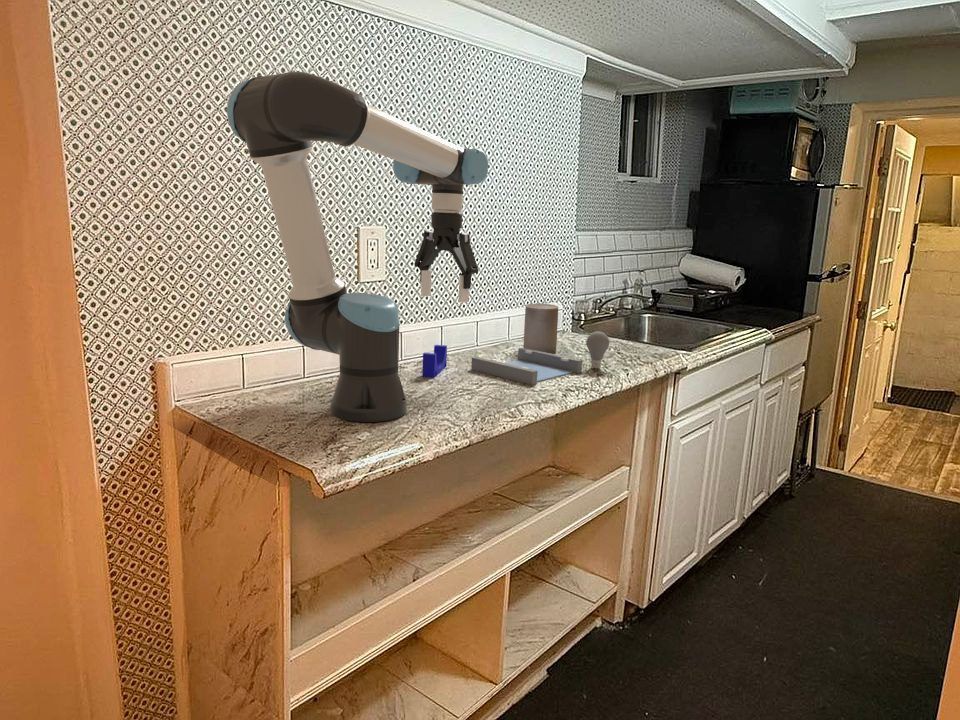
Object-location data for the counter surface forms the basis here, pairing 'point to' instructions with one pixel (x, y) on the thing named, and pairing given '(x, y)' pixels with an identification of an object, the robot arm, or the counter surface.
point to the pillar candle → (541, 327)
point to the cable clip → (435, 361)
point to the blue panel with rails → (529, 366)
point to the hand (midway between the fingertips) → (444, 299)
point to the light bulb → (597, 347)
